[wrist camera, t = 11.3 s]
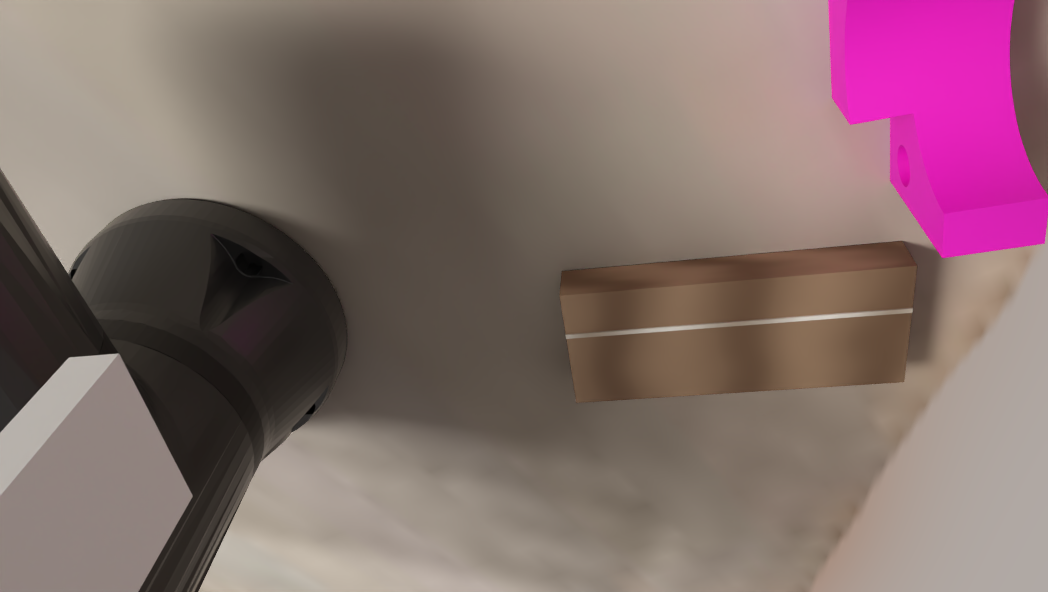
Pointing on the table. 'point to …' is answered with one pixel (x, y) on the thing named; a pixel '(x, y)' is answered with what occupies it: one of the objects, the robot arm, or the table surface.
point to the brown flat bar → (740, 323)
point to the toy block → (942, 115)
